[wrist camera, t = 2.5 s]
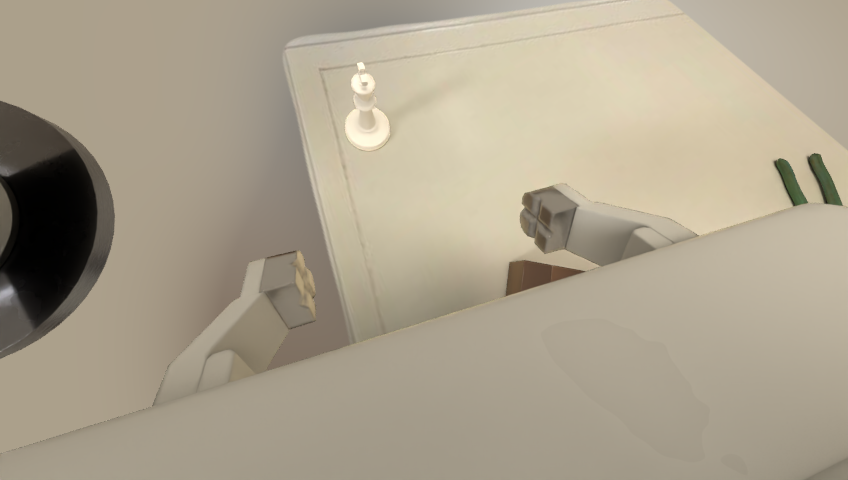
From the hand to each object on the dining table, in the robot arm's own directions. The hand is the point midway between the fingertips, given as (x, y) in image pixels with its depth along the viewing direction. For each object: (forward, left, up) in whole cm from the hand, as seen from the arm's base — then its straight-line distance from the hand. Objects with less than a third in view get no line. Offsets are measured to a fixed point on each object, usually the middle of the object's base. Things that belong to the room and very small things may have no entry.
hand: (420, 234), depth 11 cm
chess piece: (+5, +14, -22) cm, 26 cm away
